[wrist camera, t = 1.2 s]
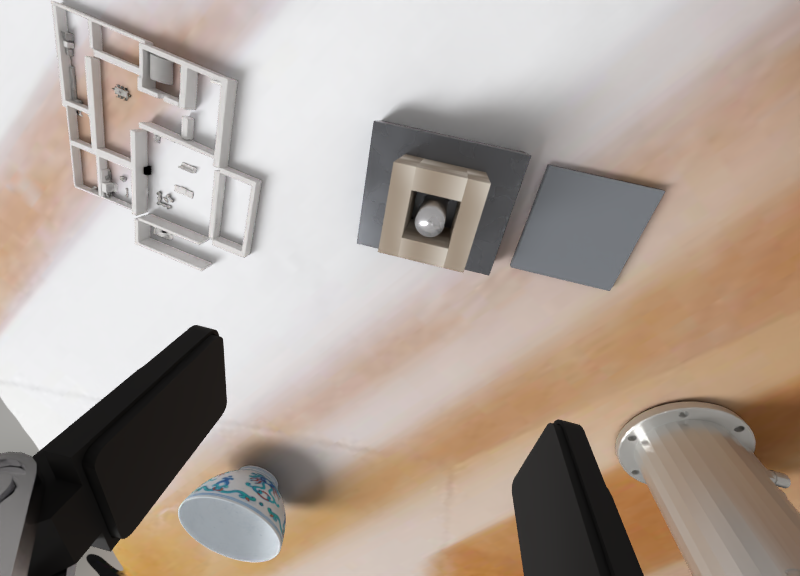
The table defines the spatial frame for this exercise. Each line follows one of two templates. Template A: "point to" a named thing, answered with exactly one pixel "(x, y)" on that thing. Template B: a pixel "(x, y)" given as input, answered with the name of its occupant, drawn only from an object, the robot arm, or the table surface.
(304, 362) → the table surface
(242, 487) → the chinaware
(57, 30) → the floor plan model
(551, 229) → the mat
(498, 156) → the post stand
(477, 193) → the collar
